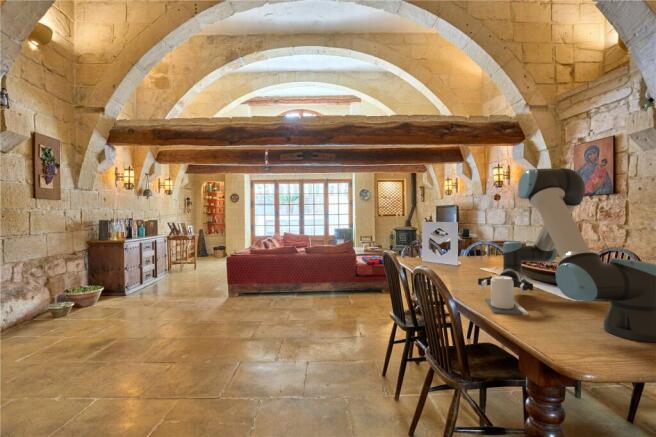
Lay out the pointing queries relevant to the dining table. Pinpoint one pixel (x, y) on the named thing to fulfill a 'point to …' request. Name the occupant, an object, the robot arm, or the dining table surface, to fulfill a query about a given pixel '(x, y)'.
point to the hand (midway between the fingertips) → (501, 287)
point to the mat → (515, 310)
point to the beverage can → (502, 292)
